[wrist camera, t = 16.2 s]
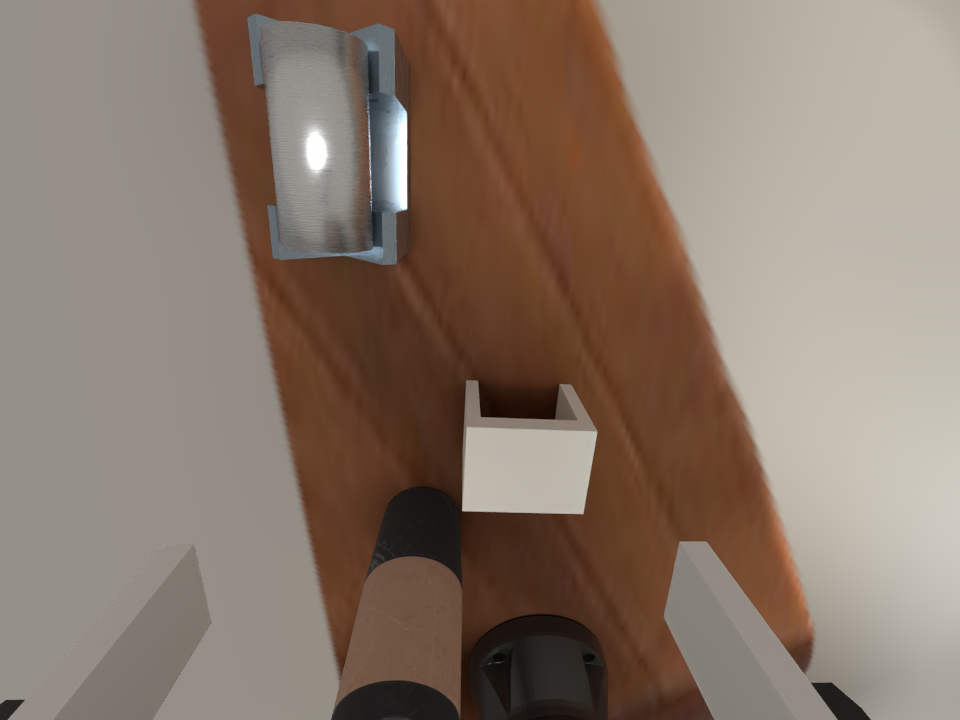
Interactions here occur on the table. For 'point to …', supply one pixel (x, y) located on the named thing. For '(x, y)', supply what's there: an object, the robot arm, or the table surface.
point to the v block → (385, 144)
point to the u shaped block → (527, 458)
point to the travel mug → (408, 617)
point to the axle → (319, 136)
